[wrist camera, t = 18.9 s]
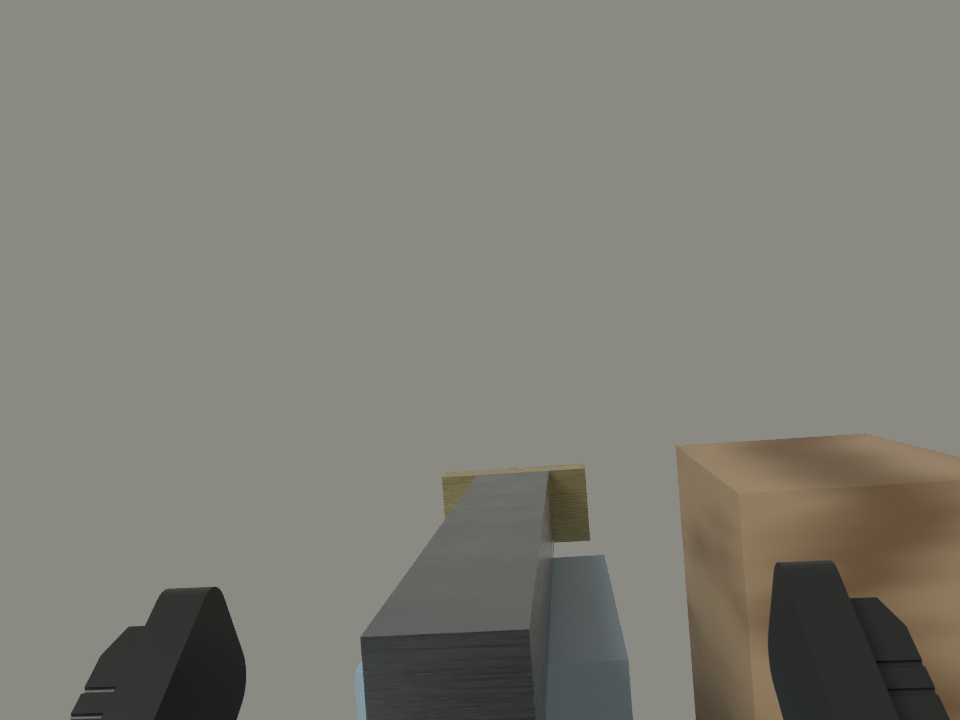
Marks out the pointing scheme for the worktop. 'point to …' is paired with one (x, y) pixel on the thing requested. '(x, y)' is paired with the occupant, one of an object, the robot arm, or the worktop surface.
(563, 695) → the light blue tall block
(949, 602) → the brown wooden tall block
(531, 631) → the grey and tan bar
